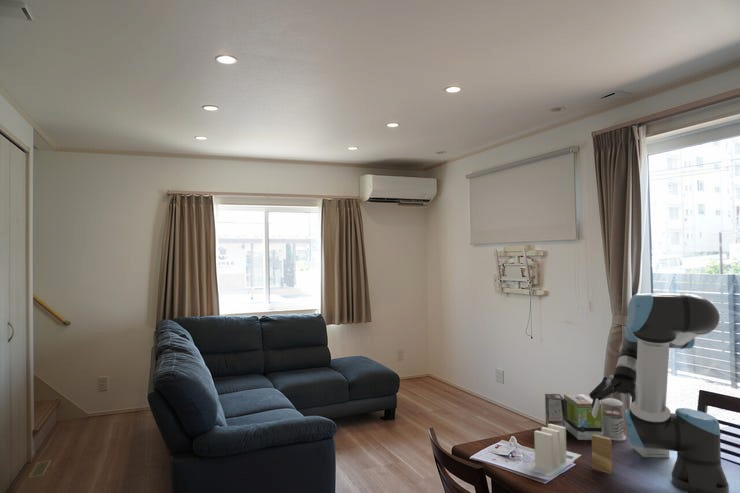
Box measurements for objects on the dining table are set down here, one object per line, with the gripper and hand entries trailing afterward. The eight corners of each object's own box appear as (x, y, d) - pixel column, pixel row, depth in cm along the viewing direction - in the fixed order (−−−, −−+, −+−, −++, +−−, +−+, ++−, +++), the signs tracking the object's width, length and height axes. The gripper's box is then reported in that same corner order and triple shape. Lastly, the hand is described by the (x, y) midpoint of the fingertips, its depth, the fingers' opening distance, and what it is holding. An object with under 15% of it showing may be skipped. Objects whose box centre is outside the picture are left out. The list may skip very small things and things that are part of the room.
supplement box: (657, 448, 185) (656, 404, 186) (670, 458, 176) (669, 411, 176) (631, 447, 186) (630, 403, 186) (642, 457, 177) (641, 411, 177)
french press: (594, 434, 201) (593, 373, 202) (613, 429, 206) (612, 370, 206) (615, 442, 192) (613, 378, 193) (634, 437, 197) (633, 375, 198)
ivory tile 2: (544, 460, 174) (543, 426, 174) (560, 465, 169) (559, 430, 170) (541, 461, 173) (541, 427, 173) (558, 466, 168) (557, 432, 169)
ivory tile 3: (537, 464, 170) (536, 430, 171) (553, 469, 166) (552, 434, 166) (535, 465, 169) (534, 431, 169) (551, 471, 165) (550, 435, 165)
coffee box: (565, 440, 195) (564, 399, 195) (548, 439, 196) (548, 399, 196) (561, 432, 203) (560, 393, 204) (545, 431, 205) (544, 393, 205)
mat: (558, 450, 184) (558, 448, 184) (581, 456, 178) (581, 454, 178) (525, 470, 167) (525, 468, 167) (550, 478, 161) (549, 476, 161)
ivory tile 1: (550, 456, 177) (549, 423, 177) (566, 461, 173) (565, 427, 173) (548, 457, 176) (547, 424, 176) (564, 462, 172) (563, 428, 172)
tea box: (602, 440, 194) (601, 403, 194) (577, 440, 194) (576, 403, 194) (586, 427, 209) (586, 393, 209) (563, 427, 209) (562, 393, 210)
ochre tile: (594, 468, 168) (593, 434, 168) (612, 474, 163) (611, 438, 164) (592, 470, 166) (591, 435, 167) (610, 475, 162) (609, 439, 162)
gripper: (666, 382, 176) (654, 434, 165) (596, 371, 194) (581, 417, 183) (661, 370, 173) (648, 422, 162) (590, 360, 191) (574, 406, 180)
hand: (612, 420), depth 173 cm, fingers open, 13 cm apart
